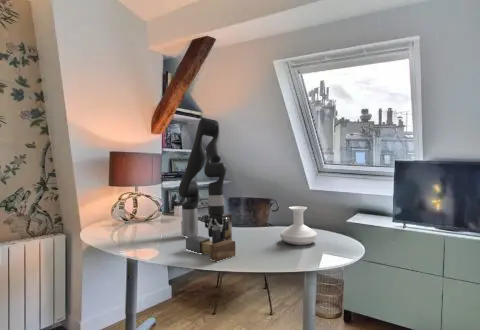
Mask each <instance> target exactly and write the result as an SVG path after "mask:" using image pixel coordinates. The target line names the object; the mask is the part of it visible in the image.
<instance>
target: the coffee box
mask: <svg viewBox="0 0 480 330" xmlns="http://www.w3.org/2000/svg"><path fill="white" fill-rule="evenodd" d="M232 215H233V214H231V213H224V214H223V217H224V218H228V225H229V230H227V231H225V239H223V240H221V242H222V241H225V240H231V241H233V230H232V229H233V226H232V225H233V223H232V222H233V221H232V219H233V218H232ZM212 229H213V230H216V229H219V228H218V226H216V225H214V226H213V228H212ZM222 229H223V228H222Z"/></svg>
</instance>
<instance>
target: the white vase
mask: <svg viewBox="0 0 480 330" xmlns="http://www.w3.org/2000/svg"><path fill="white" fill-rule="evenodd" d="M288 209H290V210H291V211H292V212H293V224H291V225H289V226H287V227H286V228H284V229H283V230H281V232H280V233H279V235H280V239H281V240H283V242H285V243H287V244H289V245H295V246H304V245H310V244H313V242H315V241H316V240H317V239H318V233H317V232H316V231H315V230H313V229H312V228H310V227H309V226H307V225H305V224H304V212H305V211H306V210H307V209H308V207H307V206H302V205H301V206H298V205H295V206H289V207H288Z"/></svg>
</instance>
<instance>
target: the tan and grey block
mask: <svg viewBox="0 0 480 330" xmlns="http://www.w3.org/2000/svg"><path fill="white" fill-rule="evenodd" d="M220 232H221V231H220V229H216V230H212V237H211V239H212V240H210V241H208V240H207V241H203V242H201V253H205V255H208V256H210V245H212V244H215V243H218V242H221V239H220Z"/></svg>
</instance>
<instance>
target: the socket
mask: <svg viewBox="0 0 480 330" xmlns="http://www.w3.org/2000/svg"><path fill="white" fill-rule="evenodd" d="M235 255H236V241H235V240H232V241H231V240H225V241H222V242H218V243H215V244H212V245H210V255H209V256H210V259H212V260H215V261H214V262H216V261H220V260H223V259H226V258H228V259H230V258H229V257H231V258H233V257H232V256H234V257H236V256H235ZM210 259H209V260H210ZM212 260H211V261H212ZM226 260H227V259H226ZM223 261H224V260H223ZM220 262H221V261H220Z"/></svg>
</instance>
